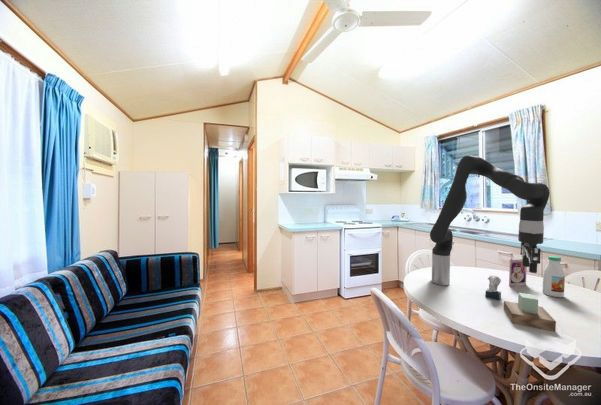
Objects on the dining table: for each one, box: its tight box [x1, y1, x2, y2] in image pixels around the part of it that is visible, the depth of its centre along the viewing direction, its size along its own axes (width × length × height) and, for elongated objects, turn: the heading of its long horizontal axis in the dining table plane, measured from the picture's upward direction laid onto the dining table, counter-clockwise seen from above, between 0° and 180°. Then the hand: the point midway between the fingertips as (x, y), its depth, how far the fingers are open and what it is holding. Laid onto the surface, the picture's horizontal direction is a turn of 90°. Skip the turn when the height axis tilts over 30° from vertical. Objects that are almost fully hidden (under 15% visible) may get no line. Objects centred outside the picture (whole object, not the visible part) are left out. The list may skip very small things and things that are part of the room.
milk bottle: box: [542, 255, 566, 298], centre depth 125 cm, size 8×8×20 cm
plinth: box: [503, 300, 557, 332], centre depth 102 cm, size 13×13×4 cm
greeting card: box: [508, 256, 528, 287], centre depth 141 cm, size 11×7×15 cm, turn 99°
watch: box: [484, 274, 502, 301], centre depth 123 cm, size 6×8×11 cm
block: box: [517, 292, 539, 314], centre depth 102 cm, size 5×5×6 cm
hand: (529, 269), depth 101 cm, fingers open, 8 cm apart
